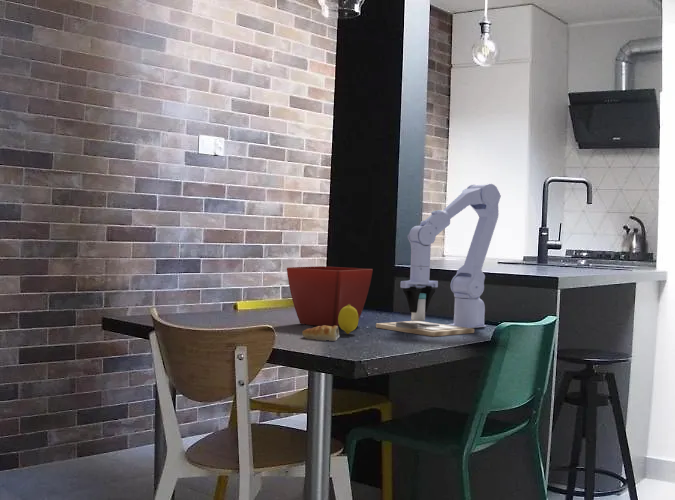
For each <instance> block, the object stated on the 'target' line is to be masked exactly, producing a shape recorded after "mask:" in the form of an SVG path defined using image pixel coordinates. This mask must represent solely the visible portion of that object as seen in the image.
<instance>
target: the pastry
mask: <svg viewBox="0 0 675 500" xmlns="http://www.w3.org/2000/svg"><path fill="white" fill-rule="evenodd" d="M301 332H302V337H303V338H304V339H308V340H314V339H316V340H315V341H326V340H329V342H333V341H334V342H335V341H337V340H338V339H339V338H340V336H341V335H340V330H339V327H338V326H335V325H334V326H333V327H332V326H326V325H323V326H314V327H312V328H305V329H304V330H302V331H301Z"/></svg>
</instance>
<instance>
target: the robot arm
mask: <svg viewBox="0 0 675 500" xmlns="http://www.w3.org/2000/svg"><path fill="white" fill-rule="evenodd" d="M501 196H502V195H501V193H500V191H499V188H498V187H497V186H496V185H495V184H493V183H487V184H470V185H468V186H467V188H464V189H463V190H462V191H461V193H460V194H459V195H458V196H457V197H456V198H454V200H452V201H451V202H450V203H449V204H448V205H447V206H446V207H445V208H444V209H443V210H441V209H437V210H433V211H431V212H430V213H431V215H429V216H428V217H427V218H426V219H425V220H421V221H420V224H419V225H415V226H413V227H412V228H411V229H410V230H409V233H408V234H407V240H408V242H409V244H410V249H411V250H410V272H409V274H410V275H409V280H401V281H400V284H399V285H400V289H402V292H403V293H404V295H405V298H406V300H407V303H408V304H407V305H408V309H409V313H411V312H413V313H416V312H417V307H418V299H419V295H420V293H426V302H425V313H427V311H428V309H429V305H430V302H431V300H432V297H433V295H435V292H436V288H438V287H439V281H438V280H430V271H431V250H432V249H431V247H432V244H434V242H435V240H436V236H438V235H439V234H440V233H441V232H442V231H444V230H446V228H447V227H448V226H450V224H451V219H452V218H454V217H455V216H457V215H458V214H459V213H460V212H462V211H463V210H465V209H466V208H467V207H469V206H470V207H471V208H472V210H474V211H475V213H477V215H478V220H477V223H476V227H475V230H474V231H473V232H474V233H473V235H472V239H471V242H470V245H469V248H468V251H467V254H466V258H465V261H464V263H463V265H462V266H461V267H459V268H458V269H457V270H456V274H455V275H454V276H453V277H452V279H451V282H450V290H451V292H452V293H453V297H454V306H453V307H454V309H453V314H454V315H453V323H448V324H447V325H451V326H459V327H466V328H473V329H476V328H477V329H478V328H487V325H486V324H485V313H486V305H485V302H484V300H483V299H481V296H482V295H483V292H484V291H485V279H486V275H485V273H484V271H483V270H482V269H483V266H484V263H485V261H486V260H485V259H486V257H487V253H488V250H489V247H490V244H491V242H492V239H493V235H494V231H495V229H496V225H497V222H498V219H499V203H500V199H501Z"/></svg>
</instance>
